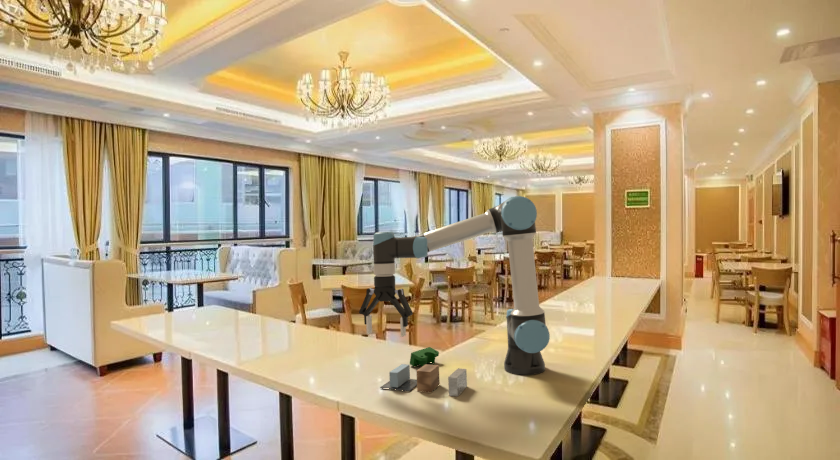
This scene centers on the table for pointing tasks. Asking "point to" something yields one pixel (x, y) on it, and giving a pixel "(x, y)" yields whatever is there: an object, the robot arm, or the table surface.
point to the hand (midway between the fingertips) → (386, 334)
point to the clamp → (423, 356)
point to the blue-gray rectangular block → (399, 375)
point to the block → (428, 378)
